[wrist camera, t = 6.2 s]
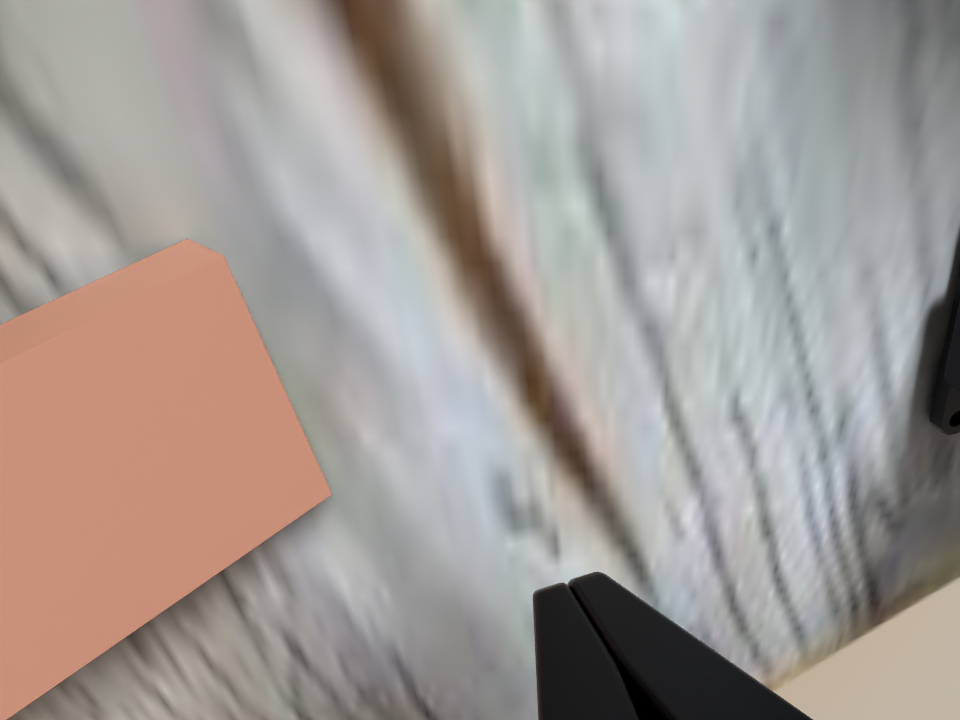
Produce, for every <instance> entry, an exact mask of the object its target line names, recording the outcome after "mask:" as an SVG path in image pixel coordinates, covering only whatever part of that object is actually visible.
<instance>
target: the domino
mask: <svg viewBox="0 0 960 720" xmlns="http://www.w3.org/2000/svg"><path fill="white" fill-rule="evenodd" d="M330 495H332V493H331V491H330V489H329V486H328V484H327V482H326V480H325V478H324V475H323V473H322V471H321V469H320V467H319V464H318V462H317V460H316V458H315V456H314V453H313V451H312V449H311V447H310V445H309V442H308V440H307V438H306V436H305V434H304V431H303V429H302V427H301V425H300V423H299V420H298V418H297V416H296V414H295V412H294V409H293V407H292V405H291V403H290V401H289V398H288V396H287V394H286V392H285V390H284V387H283V385H282V383H281V381H280V379H279V376H278V374H277V372H276V370H275V368H274V365H273V363H272V361H271V359H270V357H269V354H268V352H267V350H266V348H265V346H264V343H263V341H262V339H261V337H260V335H259V332H258V330H257V328H256V326H255V324H254V321H253V319H252V317H251V315H250V312H249V310H248V308H247V306H246V304H245V301H244V299H243V297H242V295H241V293H240V290H239V288H238V286H237V284H236V282H235V279H234V277H233V275H232V273H231V271H230V268H229V266H228V264H227V262H226V260H225V257H224V256H223V255H221V254H219V253H217V252H215V251H212V250H210V249H208V248H206V247H204V246H202V245H199V244H197V243H195V242H193V241H191V240H189V239H186V240H184V241H181V242H179V243H177V244H175V245H173V246H170V247H168V248H166V249H164V250H162V251H160V252H157V253H155V254H153V255H151V256H149V257H147V258H144V259H142V260H140V261H138V262H136V263H133V264H131V265H129V266H127V267H125V268H123V269H120V270H118V271H116V272H114V273H112V274H110V275H107V276H105V277H103V278H101V279H99V280H97V281H94V282H92V283H90V284H88V285H86V286H83V287H81V288H79V289H77V290H75V291H73V292H70V293H68V294H66V295H64V296H62V297H60V298H57V299H55V300H53V301H51V302H49V303H47V304H44V305H42V306H40V307H38V308H36V309H33V310H31V311H29V312H27V313H25V314H23V315H20V316H18V317H16V318H14V319H12V320H10V321H7V322H5V323H3V324H1V325H0V720H7V719H8V718H10V717H11V716H13V715H14V714H15V713H17V712H18V711H20V710H21V709H23V708H24V707H26V706H27V705H28V704H30V703H31V702H33V701H34V700H36V699H37V698H39V697H40V696H41V695H43V694H44V693H46V692H47V691H49V690H50V689H52V688H53V687H54V686H56V685H57V684H59V683H60V682H62V681H63V680H65V679H66V678H67V677H69V676H70V675H72V674H73V673H75V672H76V671H78V670H79V669H80V668H82V667H83V666H85V665H86V664H88V663H89V662H91V661H92V660H93V659H95V658H96V657H98V656H99V655H101V654H102V653H104V652H105V651H106V650H108V649H109V648H111V647H112V646H114V645H115V644H117V643H118V642H119V641H121V640H122V639H124V638H125V637H127V636H128V635H130V634H131V633H132V632H134V631H135V630H137V629H138V628H140V627H141V626H143V625H144V624H145V623H147V622H148V621H150V620H151V619H153V618H154V617H156V616H157V615H158V614H160V613H161V612H163V611H164V610H166V609H167V608H169V607H170V606H171V605H173V604H174V603H176V602H177V601H179V600H180V599H182V598H183V597H184V596H186V595H187V594H189V593H190V592H192V591H193V590H195V589H196V588H197V587H199V586H200V585H202V584H203V583H205V582H206V581H208V580H209V579H210V578H212V577H213V576H215V575H216V574H218V573H219V572H221V571H222V570H223V569H225V568H226V567H228V566H229V565H231V564H232V563H234V562H235V561H236V560H238V559H239V558H241V557H242V556H244V555H245V554H247V553H248V552H249V551H251V550H252V549H254V548H255V547H257V546H258V545H260V544H261V543H262V542H264V541H265V540H267V539H268V538H270V537H271V536H273V535H274V534H275V533H277V532H278V531H280V530H281V529H283V528H284V527H286V526H287V525H288V524H290V523H291V522H293V521H294V520H296V519H297V518H299V517H300V516H301V515H303V514H304V513H306V512H307V511H309V510H310V509H312V508H313V507H314V506H316V505H317V504H319V503H320V502H322V501H323V500H325V499H326V498H327V497H329V496H330Z"/></svg>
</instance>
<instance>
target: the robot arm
mask: <svg viewBox="0 0 960 720" xmlns="http://www.w3.org/2000/svg"><path fill="white" fill-rule="evenodd" d="M930 423H931V424H932V425H933V426H934V427H936V428H937V429H939V430H940V431H942V432H943V433H945V434H948V435H950V434H956V433H959V432H960V275H959V279H958V284H957V289H956V293H955V298H954V303H953V308H952V312H951V317H950V322H949V326H948V331H947V336H946V341H945V345H944V350H943V355H942V359H941V364H940V369H939V373H938V378H937V383H936V388H935V392H934V397H933V402H932V406H931V411H930ZM533 613H534V634H535V655H536V677H537V698H538V719H539V720H813V719H811V718H810V717H808V716H807V715H806V714H804V713H802V712H801V711H800V710H798V709H797V708H796V707H794V706H793V705H791V704H790V703H788V702H787V701H785V700H784V699H783V698H781V697H780V696H778V695H777V694H776V693H774V692H773V691H771V690H770V689H768V688H767V687H766V686H764V685H763V684H761V683H760V682H758V681H757V680H756V679H754V678H753V677H751V676H750V675H748V674H747V673H746V672H744V671H743V670H741V669H740V668H738V667H737V666H736V665H734V664H733V663H731V662H730V661H728V660H727V659H726V658H724V657H723V656H721V655H720V654H718V653H717V652H716V651H714V650H713V649H711V648H710V647H708V646H707V645H706V644H704V643H703V642H701V641H700V640H698V639H697V638H696V637H694V636H693V635H691V634H690V633H688V632H687V631H686V630H684V629H683V628H681V627H680V626H679V625H677V624H676V623H674V622H673V621H671V620H670V619H669V618H667V617H666V616H664V615H663V614H661V613H660V612H659V611H657V610H656V609H654V608H653V607H651V606H650V605H649V604H647V603H646V602H644V601H643V600H641V599H640V598H639V597H637V596H636V595H634V594H633V593H631V592H630V591H629V590H627V589H626V588H624V587H623V586H621V585H620V584H619V583H617V582H616V581H614V580H613V579H611V578H610V577H609V576H607V575H606V574H604V573H601V572H594V573H590V574H587V575H584V576H581V577H577V578H574V579H572V580H570V581H569V582H568V585H567V584H565V583H558V584H555V585H552V586H548V587H545V588H542V589H539V590H536V591H535V592H534V594H533Z"/></svg>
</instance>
